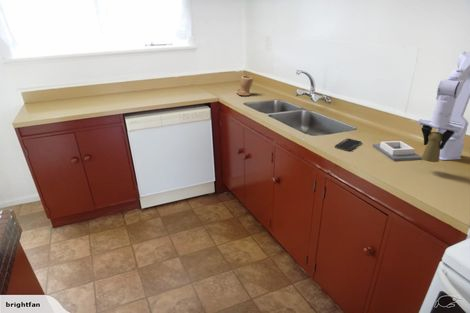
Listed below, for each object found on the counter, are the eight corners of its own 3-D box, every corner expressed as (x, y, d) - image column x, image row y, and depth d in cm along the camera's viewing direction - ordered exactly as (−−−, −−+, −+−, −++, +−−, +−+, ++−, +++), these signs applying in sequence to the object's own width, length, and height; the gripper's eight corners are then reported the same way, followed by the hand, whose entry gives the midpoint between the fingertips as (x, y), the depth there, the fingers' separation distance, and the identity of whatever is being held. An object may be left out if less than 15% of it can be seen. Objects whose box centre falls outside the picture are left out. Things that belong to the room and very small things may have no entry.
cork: (418, 158, 124) (425, 132, 120) (425, 155, 127) (431, 129, 123) (435, 163, 119) (442, 135, 115) (441, 160, 123) (448, 133, 119)
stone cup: (254, 96, 246) (254, 77, 240) (239, 97, 244) (239, 77, 238) (249, 92, 260) (249, 74, 254) (235, 93, 257) (235, 74, 251)
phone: (333, 146, 147) (347, 138, 158) (333, 148, 148) (346, 140, 158) (350, 150, 143) (362, 141, 153) (349, 152, 143) (362, 143, 153)
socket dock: (397, 145, 151) (399, 138, 150) (421, 159, 136) (423, 151, 134) (372, 146, 150) (373, 139, 148) (393, 160, 134) (395, 153, 133)
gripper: (417, 110, 119) (409, 143, 124) (462, 119, 109) (451, 154, 114) (425, 107, 123) (416, 139, 129) (468, 115, 113) (457, 149, 119)
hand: (433, 146), depth 122 cm, fingers closed on cork, 5 cm apart
